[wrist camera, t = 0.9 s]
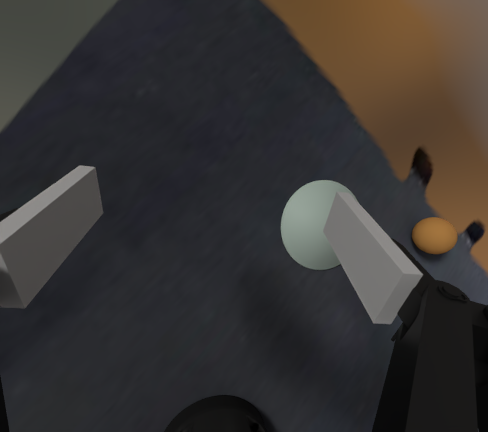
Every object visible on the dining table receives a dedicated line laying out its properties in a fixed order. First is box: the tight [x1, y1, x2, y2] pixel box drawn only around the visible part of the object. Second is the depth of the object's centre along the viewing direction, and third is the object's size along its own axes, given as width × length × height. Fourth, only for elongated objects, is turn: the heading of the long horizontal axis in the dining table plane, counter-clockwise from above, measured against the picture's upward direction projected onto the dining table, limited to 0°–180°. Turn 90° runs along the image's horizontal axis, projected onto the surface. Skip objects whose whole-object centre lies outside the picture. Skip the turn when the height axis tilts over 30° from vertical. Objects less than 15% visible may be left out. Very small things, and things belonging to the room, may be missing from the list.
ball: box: [412, 217, 457, 254], centre depth 39 cm, size 6×6×6 cm
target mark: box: [281, 180, 358, 270], centre depth 37 cm, size 13×13×1 cm
